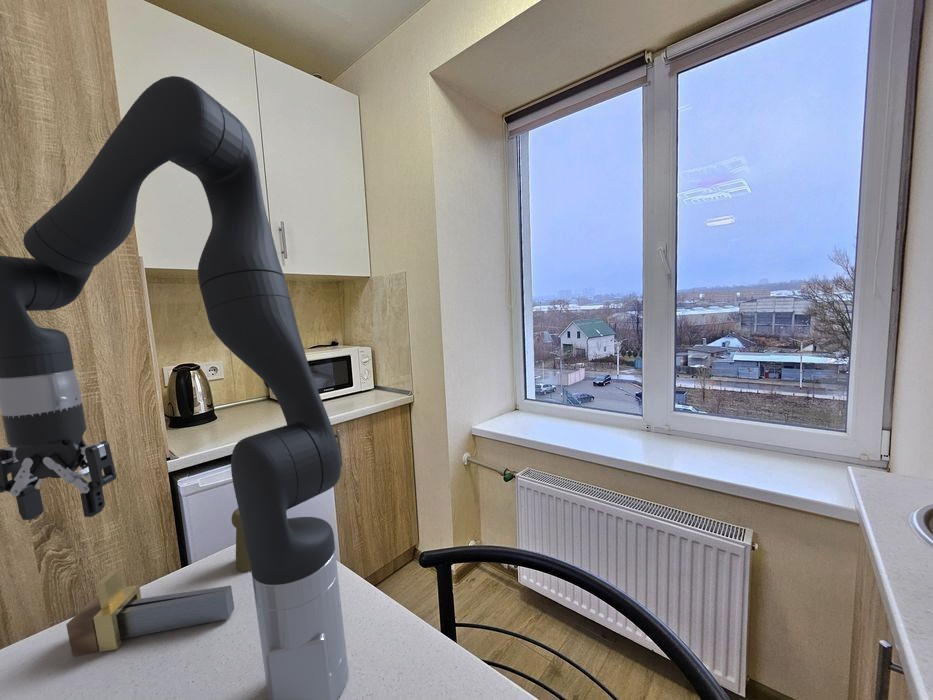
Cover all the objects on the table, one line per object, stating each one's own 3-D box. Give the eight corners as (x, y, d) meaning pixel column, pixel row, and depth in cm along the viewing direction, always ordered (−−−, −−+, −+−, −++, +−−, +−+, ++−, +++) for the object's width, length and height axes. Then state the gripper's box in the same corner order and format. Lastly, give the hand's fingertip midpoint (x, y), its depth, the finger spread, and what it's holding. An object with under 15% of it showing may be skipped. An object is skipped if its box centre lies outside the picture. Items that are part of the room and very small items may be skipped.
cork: (227, 569, 72) (219, 513, 71) (253, 549, 78) (247, 497, 76) (253, 574, 70) (245, 517, 69) (278, 553, 76) (271, 500, 75)
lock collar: (99, 652, 55) (88, 591, 54) (128, 618, 61) (118, 563, 60) (117, 649, 55) (106, 588, 54) (144, 616, 61) (134, 561, 60)
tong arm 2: (118, 631, 58) (113, 606, 58) (123, 625, 59) (118, 601, 59) (231, 613, 61) (228, 589, 60) (234, 608, 61) (231, 585, 61)
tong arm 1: (109, 640, 57) (105, 616, 56) (114, 635, 58) (110, 610, 57) (229, 618, 60) (225, 594, 59) (231, 613, 61) (228, 589, 60)
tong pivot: (72, 656, 55) (66, 624, 54) (99, 627, 60) (93, 598, 59) (98, 651, 55) (92, 620, 55) (122, 623, 60) (117, 594, 60)
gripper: (119, 396, 57) (136, 500, 59) (21, 400, 57) (41, 504, 59) (69, 411, 50) (89, 529, 52) (-45, 415, 49) (-20, 533, 51)
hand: (63, 515), depth 55 cm, fingers open, 8 cm apart
